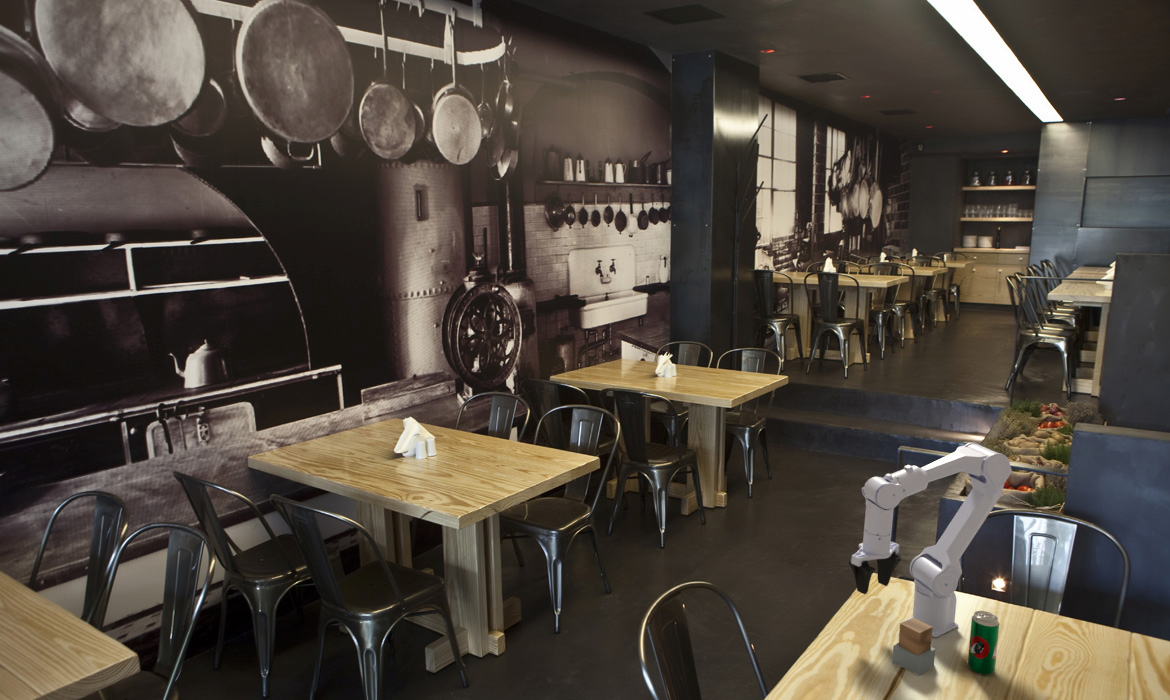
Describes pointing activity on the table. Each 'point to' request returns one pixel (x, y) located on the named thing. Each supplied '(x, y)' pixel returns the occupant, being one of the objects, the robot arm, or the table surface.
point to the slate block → (913, 659)
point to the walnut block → (915, 636)
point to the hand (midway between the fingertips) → (872, 588)
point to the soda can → (983, 642)
